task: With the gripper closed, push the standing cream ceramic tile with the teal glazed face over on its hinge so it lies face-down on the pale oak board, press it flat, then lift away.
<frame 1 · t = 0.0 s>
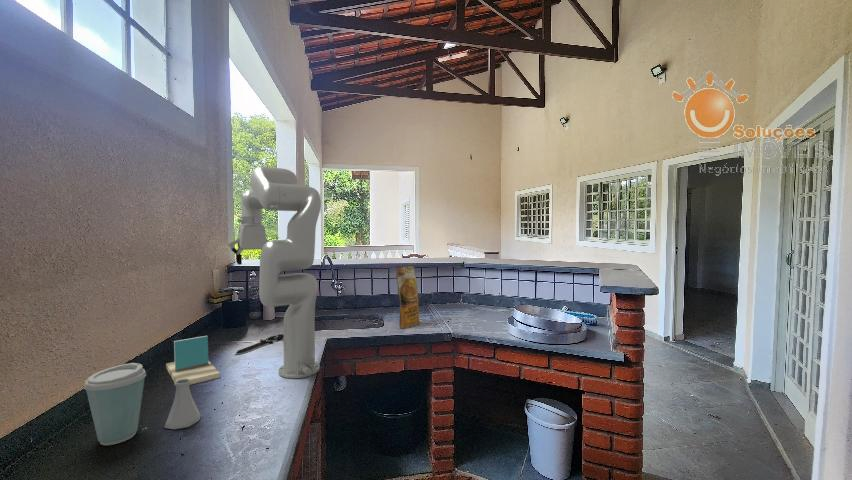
hand: (252, 263, 153), 31 cm above the counter, tool pointing down, fingers open, 9 cm apart
disposable coffee cup: (117, 438, 83), on the counter
knife: (261, 346, 147), on the counter
pancake mix bag: (408, 325, 179), on the counter
board: (192, 372, 119), on the counter
flask: (183, 423, 90), on the counter
tile: (191, 353, 119), point 6 cm above the counter, hinge at 85.0°
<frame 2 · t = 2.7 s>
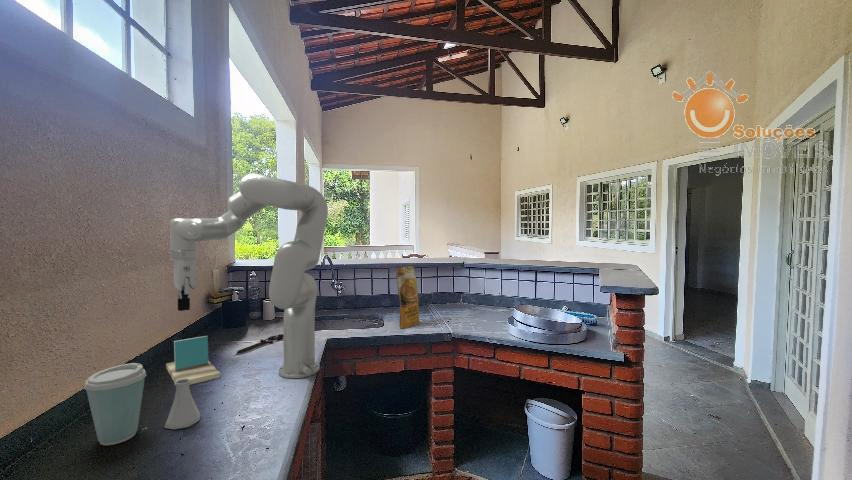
hand: (183, 309, 126), 18 cm above the counter, tool pointing down, fingers closed
nothing on the counter moved.
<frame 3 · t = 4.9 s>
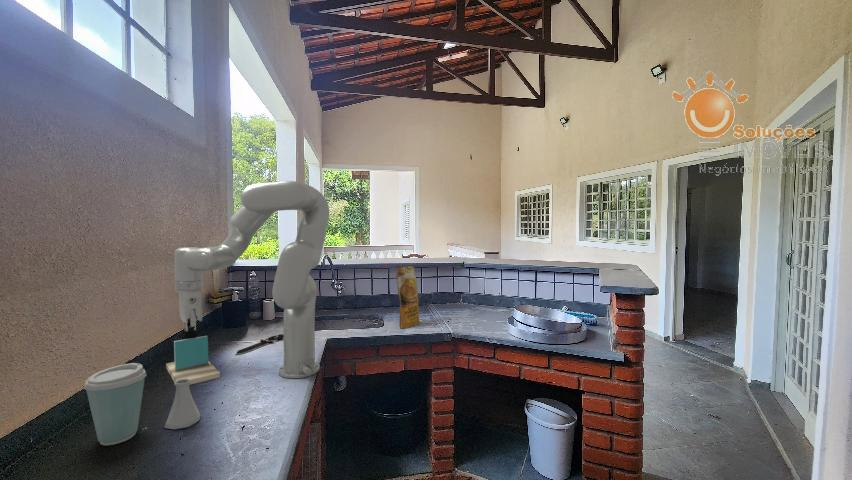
hand: (190, 342, 121), 9 cm above the counter, tool pointing down, fingers closed
tile: (191, 353, 119), point 6 cm above the counter, hinge at 85.4°, touching gripper
everything else where it was.
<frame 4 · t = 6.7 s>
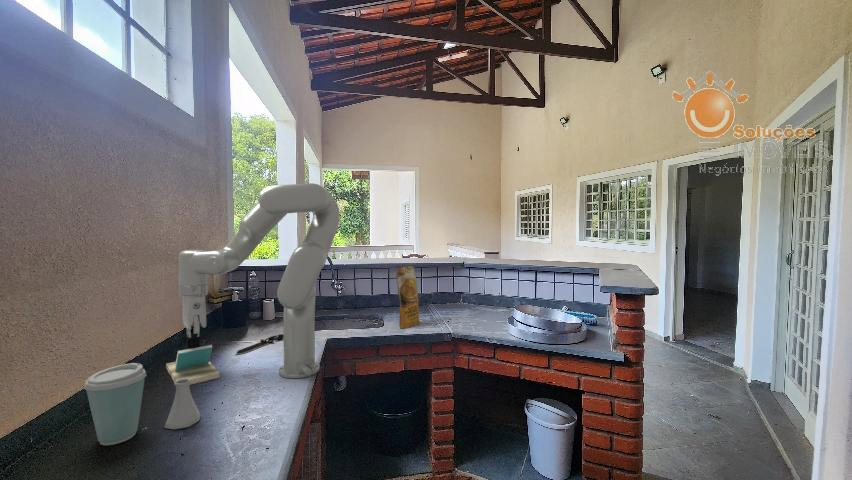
hand: (192, 349, 116), 9 cm above the counter, tool pointing down, fingers closed
tile: (193, 358, 117), point 5 cm above the counter, hinge at 129.7°, touching gripper
everything else where it was.
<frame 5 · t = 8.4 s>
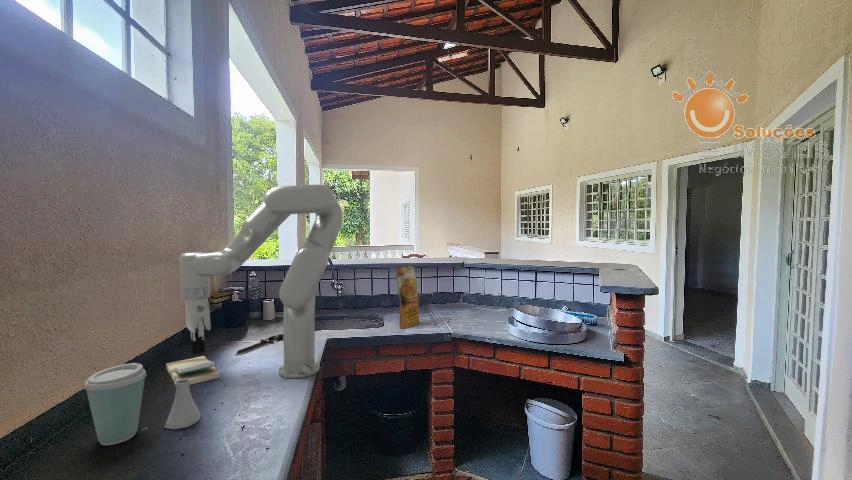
hand: (198, 352, 114), 8 cm above the counter, tool pointing down, fingers closed
tile: (194, 366, 116), point 3 cm above the counter, hinge at 168.5°
everything else where it was.
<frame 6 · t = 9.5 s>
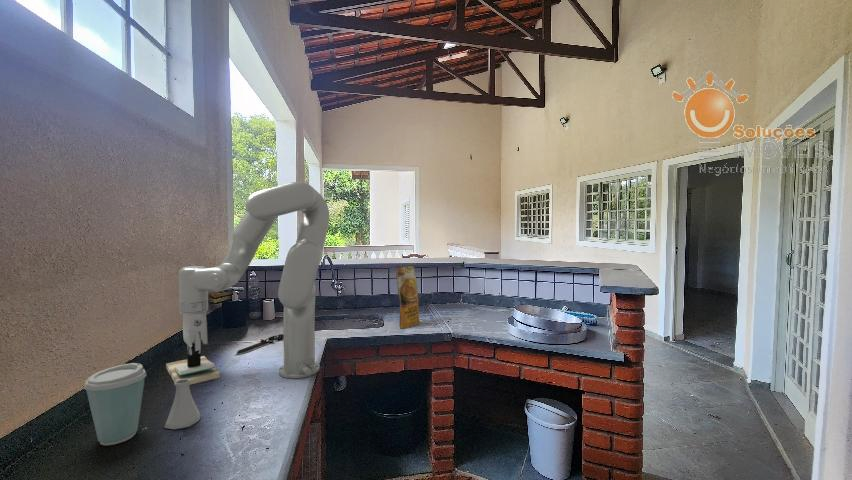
hand: (193, 366, 115), 4 cm above the counter, tool pointing down, fingers closed
tile: (194, 367, 116), point 3 cm above the counter, hinge at 172.2°, touching gripper
everything else where it was.
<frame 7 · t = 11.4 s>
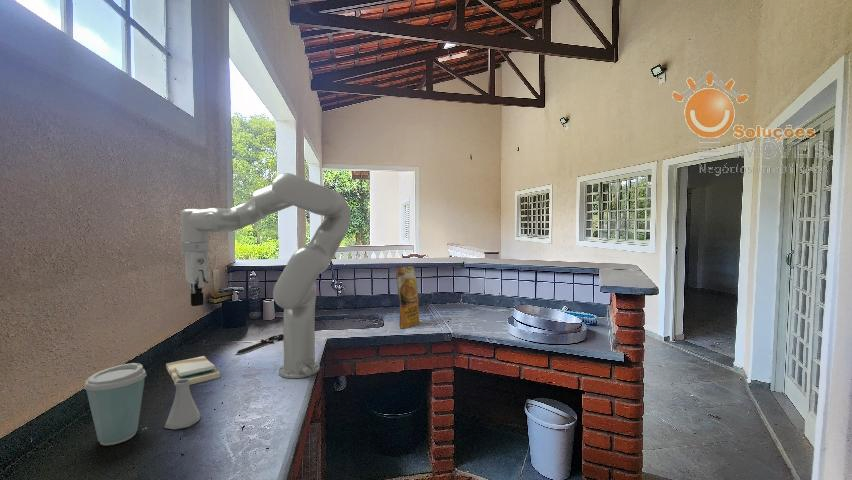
hand: (197, 305, 120), 21 cm above the counter, tool pointing down, fingers closed
tile: (194, 368, 116), point 3 cm above the counter, hinge at 175.0°
everything else where it was.
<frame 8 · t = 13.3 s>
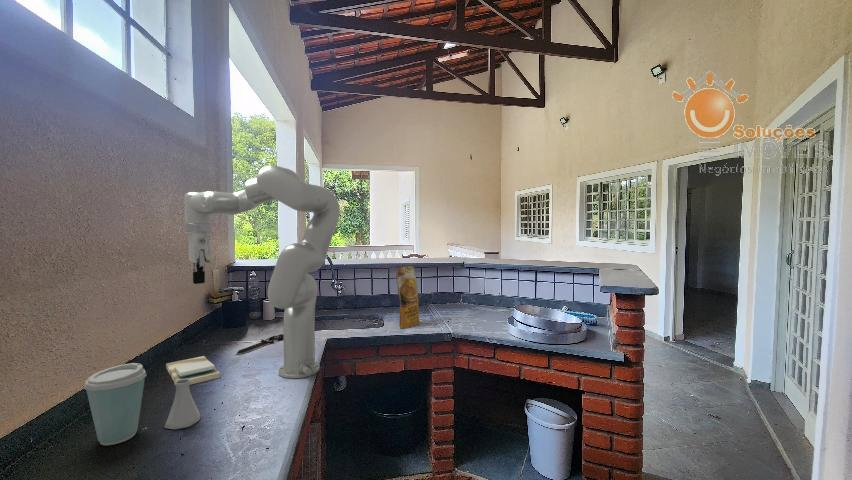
hand: (198, 283, 128), 27 cm above the counter, tool pointing down, fingers closed
nothing on the counter moved.
at the end: tile at +175° (first picture: +85°); the gripper is holding nothing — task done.
